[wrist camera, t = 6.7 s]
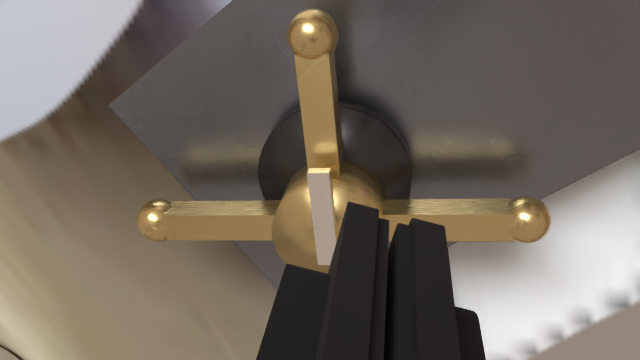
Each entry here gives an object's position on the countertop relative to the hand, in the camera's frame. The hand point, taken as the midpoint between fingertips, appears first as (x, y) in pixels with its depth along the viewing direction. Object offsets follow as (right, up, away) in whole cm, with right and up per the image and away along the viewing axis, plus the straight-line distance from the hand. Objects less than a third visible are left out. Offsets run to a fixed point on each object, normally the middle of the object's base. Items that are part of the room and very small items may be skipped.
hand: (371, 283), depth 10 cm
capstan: (0, +1, +16) cm, 16 cm away
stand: (+3, +7, +16) cm, 17 cm away
